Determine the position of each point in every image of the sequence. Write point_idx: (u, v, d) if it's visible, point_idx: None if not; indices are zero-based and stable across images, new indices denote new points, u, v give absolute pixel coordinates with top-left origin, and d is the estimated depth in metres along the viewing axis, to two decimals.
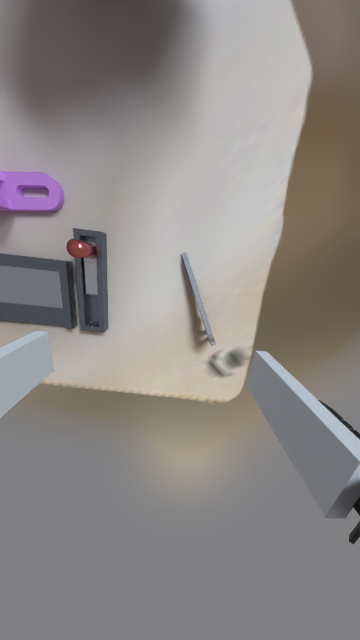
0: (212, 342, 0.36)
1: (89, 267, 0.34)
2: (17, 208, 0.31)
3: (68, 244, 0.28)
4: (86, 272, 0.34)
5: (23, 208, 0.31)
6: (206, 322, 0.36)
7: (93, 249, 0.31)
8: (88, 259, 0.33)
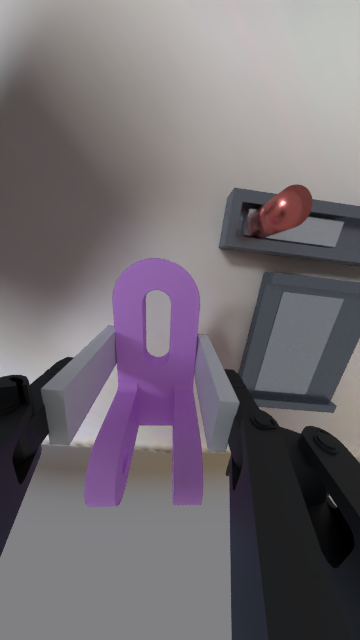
0: None
1: (289, 230, 0.18)
2: (191, 374, 0.13)
3: (282, 222, 0.13)
4: (297, 238, 0.18)
5: (192, 362, 0.12)
6: None
7: None
8: None
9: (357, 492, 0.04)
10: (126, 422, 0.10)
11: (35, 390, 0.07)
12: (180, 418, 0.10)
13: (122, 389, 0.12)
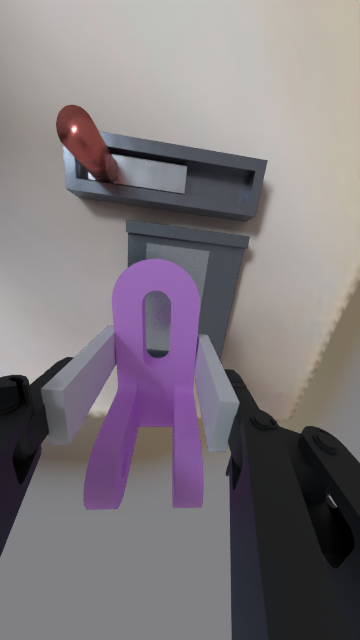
0: None
1: (134, 174, 0.17)
2: (191, 376, 0.13)
3: (70, 147, 0.13)
4: (143, 183, 0.18)
5: (192, 363, 0.12)
6: None
7: None
8: (118, 172, 0.17)
9: (357, 492, 0.04)
10: (126, 424, 0.10)
11: (35, 390, 0.07)
12: (180, 420, 0.10)
13: (122, 390, 0.12)
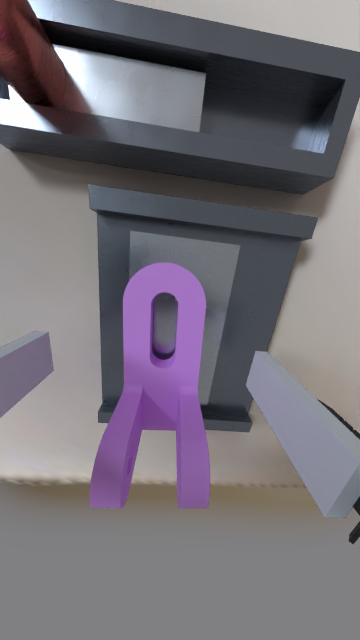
0: None
1: (100, 91, 0.09)
2: (196, 377, 0.13)
3: None
4: (120, 111, 0.09)
5: (197, 364, 0.13)
6: None
7: None
8: (69, 87, 0.09)
9: None
10: (132, 422, 0.10)
11: None
12: (185, 418, 0.10)
13: (127, 390, 0.12)
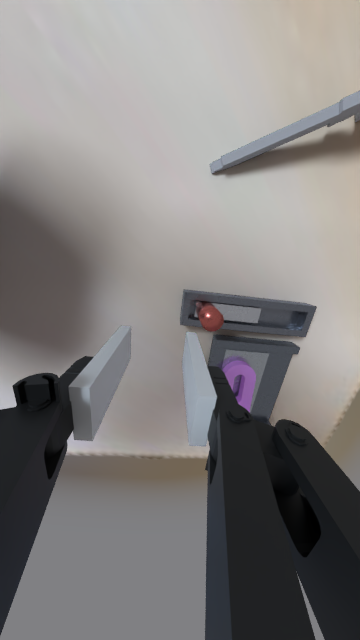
0: None
1: (225, 313, 0.26)
2: (249, 406, 0.30)
3: (207, 328, 0.21)
4: (231, 318, 0.26)
5: (250, 401, 0.30)
6: None
7: (206, 303, 0.24)
8: None
9: (323, 481, 0.04)
10: None
11: (60, 388, 0.07)
12: None
13: None
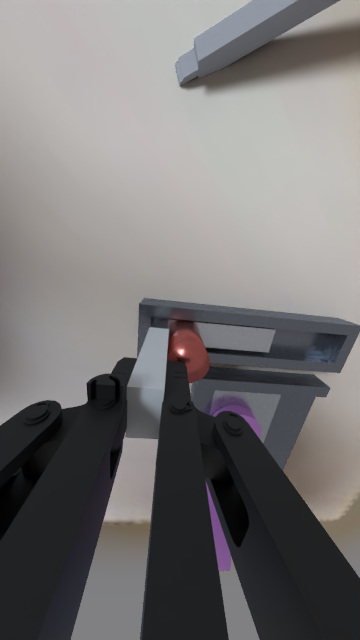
0: None
1: (216, 338, 0.16)
2: None
3: None
4: (226, 345, 0.16)
5: None
6: None
7: (183, 325, 0.14)
8: None
9: (252, 469, 0.04)
10: None
11: None
12: None
13: None
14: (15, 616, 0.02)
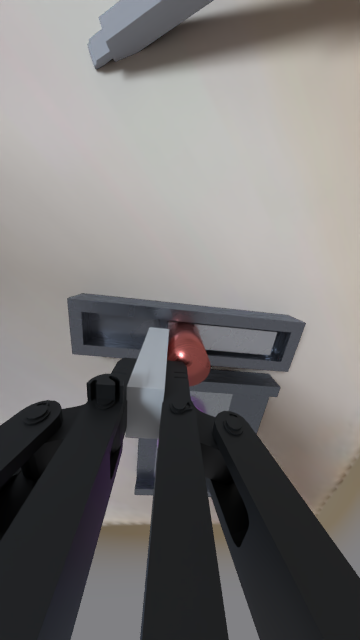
0: None
1: (217, 340, 0.16)
2: None
3: None
4: (226, 348, 0.16)
5: None
6: None
7: (183, 327, 0.13)
8: (200, 339, 0.15)
9: (252, 469, 0.04)
10: None
11: None
12: None
13: None
14: (15, 617, 0.02)
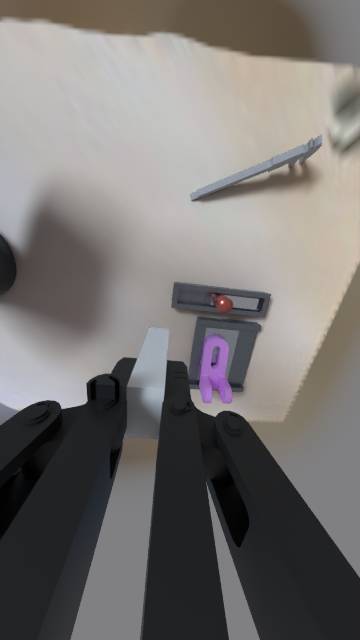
0: (318, 141, 0.25)
1: (232, 302, 0.36)
2: (225, 371, 0.39)
3: (221, 311, 0.31)
4: (237, 306, 0.36)
5: (225, 367, 0.39)
6: (283, 156, 0.26)
7: (220, 294, 0.33)
8: None
9: (252, 469, 0.04)
10: (209, 383, 0.36)
11: None
12: (223, 382, 0.37)
13: (203, 375, 0.39)
14: (14, 617, 0.02)
